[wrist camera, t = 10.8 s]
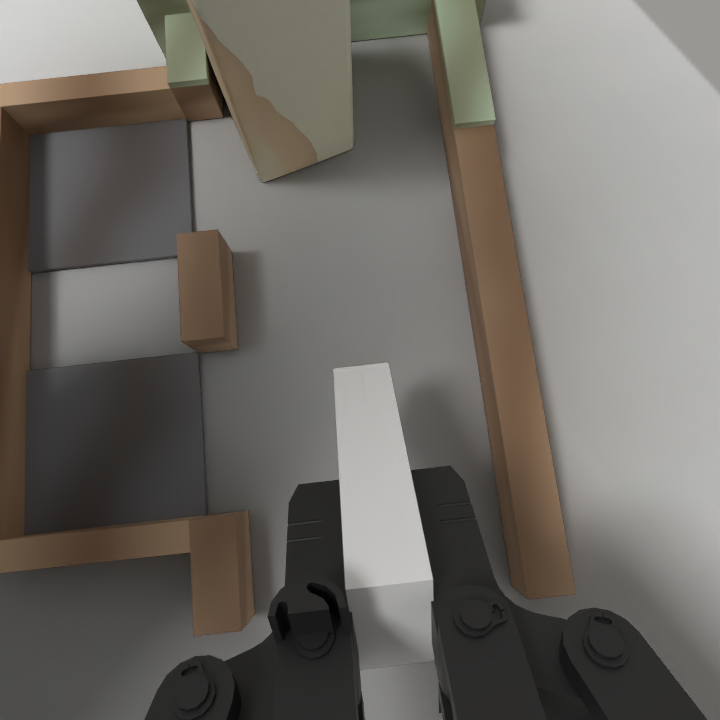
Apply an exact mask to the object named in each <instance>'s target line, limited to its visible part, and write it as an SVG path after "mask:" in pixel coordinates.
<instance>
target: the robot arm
mask: <svg viewBox="0 0 720 720" xmlns="http://www.w3.org/2000/svg"><path fill="white" fill-rule="evenodd" d="M333 375H334V393H335V411H336V429H337V447H338V465H339V480H334V481H325V482H316V483H307V484H299V485H298V487H297V488H296V490H295V492H294V494H293V496H292V498H291V500H290V502H289V510H288V531H287V553H286V575H285V587H283V588H282V589H281V590H280V591H279V592H278V594H277V595H276V596H275V598H274V599H273V601H272V602H271V606H270V609H269V613H268V619H269V622H270V625H271V629H272V633H271V634H270V635H269V636H268V637H267V638H266V639H265V640H264V641H263V642H262V643H260V644H258V645H257V646H255V647H254V648H252V649H250V650H248V651H246V652H244V653H241V654H239V655H237V656H235V657H233V658H231V659H229V660H226V661H223V660H221V659H218V658H216V657H213V656H210V655H207V656H195V657H193V658H191V659H188V660H186V661H184V662H182V663H180V664H179V665H178V666H177V667H176V668H174V669H173V670H172V671H171V672H170V673H169V674H168V675H167V676H166V678H165V679H164V681H163V682H162V684H161V686H160V687H159V689H158V690H157V693H156V695H155V697H154V699H153V702H152V704H151V706H150V708H149V711H148V713H147V715H146V718H145V720H365V716H364V703H363V698H362V692H361V679H360V670H365V669H373V668H381V667H390V666H398V665H407V664H415V663H423V662H432V661H434V658H435V664H436V669H437V674H438V680H439V713H442V715H443V720H707V719H706V717H705V716H704V715H703V714H702V712H701V711H700V710H699V708H698V707H697V706H696V705H695V703H694V702H693V701H692V699H691V698H690V697H689V696H688V694H687V693H686V692H685V690H684V689H683V688H682V687H681V685H680V684H679V683H678V681H677V680H676V679H675V678H674V676H673V675H672V674H671V673H670V671H669V670H668V669H667V667H666V666H665V665H664V664H663V662H662V661H661V660H660V658H659V657H658V656H657V655H656V653H655V652H654V651H653V649H652V648H651V647H650V646H649V644H648V643H647V642H646V640H645V639H644V638H643V637H642V635H641V634H640V633H639V632H638V631H637V630H636V629H635V628H634V627H633V626H632V625H631V624H630V623H629V622H628V621H627V620H626V619H624V618H622V617H621V616H619V615H617V614H615V613H613V612H611V611H608V610H603V609H598V608H589V609H583V610H579V611H578V612H576V613H575V614H573V615H572V616H570V617H569V618H568V620H566V619H561V618H556V617H551V616H546V615H541V614H537V613H533V612H530V611H527V610H525V609H523V608H521V607H519V606H517V605H516V604H514V603H513V602H512V601H511V600H509V599H508V598H507V597H506V596H505V595H504V594H503V592H502V591H501V590H500V589H499V587H498V585H497V583H496V581H495V578H494V576H493V572H492V569H491V566H490V563H489V560H488V556H487V553H486V550H485V547H484V544H483V540H482V537H481V534H480V531H479V528H478V524H477V521H476V520H475V515H474V512H473V508H472V505H471V504H470V499H469V495H468V492H467V489H466V486H465V483H464V481H463V480H462V479H461V477H460V476H459V475H458V474H457V473H456V472H455V471H454V470H453V469H452V467H451V466H444V467H436V468H427V469H418V470H410V465H409V461H408V456H407V451H406V446H405V441H404V436H403V432H402V427H401V422H400V417H399V412H398V407H397V402H396V398H395V393H394V388H393V383H392V378H391V373H390V369H389V364H388V362H387V363H378V364H369V365H360V366H351V367H342V368H334V369H333Z"/></svg>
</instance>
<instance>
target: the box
mask: <svg viewBox="0 0 720 720" xmlns="http://www.w3.org/2000/svg"><path fill="white" fill-rule="evenodd" d="M186 1H187V3H188V6H189V8H190V11H191V13H192V16H193V18H194V21H195V23H196V26H197V28H198V31H199V34H200V36H201V39H202V41H203V44H204V46H205V49H206V52H207V54H208V57H209V60H210V62H211V65H212V67H213V70H214V73H215V75H216V78H217V80H218V83H219V86H220V88H221V91H222V93H223V95H224V98H225V100H226V103H227V105H228V108H229V110H230V113H231V115H232V117H233V120H234V122H235V125H236V127H237V129H238V132H239V134H240V136H241V139H242V141H243V144H244V146H245V148H246V150H247V153H248V155H249V157H250V160H251V162H252V164H253V166H254V169H255V171H256V173H257V175H258V178H259V180H260V181H261V182H267V181H269V180H272V179H275V178H278V177H281V176H283V175H286V174H289V173H292V172H294V171H297V170H300V169H302V168H305V167H307V166H310V165H313V164H315V163H318V162H320V161H323V160H325V159H328V158H330V157H333V156H335V155H338V154H340V153H343V152H345V151H348V150H350V149H352V148H353V146H354V126H353V88H352V54H351V21H350V0H186Z"/></svg>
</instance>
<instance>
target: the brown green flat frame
mask: <svg viewBox="0 0 720 720" xmlns="http://www.w3.org/2000/svg"><path fill="white" fill-rule="evenodd" d="M137 2H138V4H139V6H140V8H141V10H142V12H143V14H144V16H145V18H146V20H147V22H148V24H149V26H150V28H151V30H152V32H153V34H154V36H155V38H156V40H157V42H158V44H159V46H160V48H161V50H162V52H163V54H164V56H165V58H166V62H167V66H162V67H153V68H143V69H134V70H125V71H116V72H106V73H97V74H88V75H78V76H69V77H60V78H50V79H41V80H32V81H22V82H13V83H4V84H0V573H6V572H16V571H25V570H34V569H43V568H52V567H61V566H71V565H80V564H89V563H98V562H107V561H116V560H125V559H135V558H144V557H153V556H162V555H171V554H180V553H190V563H191V587H192V610H193V634H194V636H200V635H209V634H218V633H227V632H236V631H242V630H243V628H244V627H245V626H246V625H247V623H248V622H249V621H250V619H251V618H252V617H253V616H254V614H255V608H254V592H253V576H252V561H251V545H250V529H249V514H248V511H239V512H229V513H220V514H211V515H207V506H206V485H205V465H204V445H203V424H202V404H201V384H200V363H199V353H206V352H216V351H225V350H234V349H238V341H237V326H236V310H235V294H234V279H233V263H232V251H231V249H230V248H229V246H228V245H227V243H226V242H225V240H224V238H223V237H222V235H221V234H220V232H219V231H218V230H209V231H200V232H193V221H192V200H191V180H190V160H189V139H188V121H195V120H204V119H213V118H223V106H222V91H221V88H220V86H219V83H218V80H217V78H216V75H215V73H214V70H213V67H212V65H211V62H210V60H209V57H208V54H207V52H206V49H205V46H204V44H203V41H202V39H201V36H200V34H199V31H198V28H197V26H196V23H195V21H194V18H193V16H192V13H191V11H190V8H189V6H188V3H187V1H186V0H137ZM485 2H486V0H350V21H351V41H360V40H369V39H378V38H387V37H397V36H406V35H415V34H425V33H427V35H428V41H429V48H430V54H431V61H432V67H433V74H434V80H435V87H436V93H437V100H438V107H439V113H440V120H441V126H442V133H443V139H444V146H445V152H446V159H447V166H448V172H449V179H450V185H451V192H452V198H453V205H454V211H455V218H456V225H457V231H458V238H459V244H460V251H461V257H462V264H463V270H464V277H465V283H466V290H467V297H468V303H469V310H470V316H471V323H472V329H473V336H474V342H475V349H476V356H477V362H478V369H479V375H480V382H481V388H482V395H483V401H484V408H485V414H486V421H487V428H488V434H489V441H490V447H491V454H492V460H493V467H494V473H495V480H496V487H497V493H498V500H499V506H500V513H501V519H502V526H503V532H504V539H505V545H506V552H507V559H508V565H509V572H510V578H511V585H512V586H513V587H514V588H515V589H516V590H517V591H518V592H520V593H521V594H522V595H523V596H524V597H526V598H527V599H537V598H547V597H556V596H565V595H574V594H576V593H575V587H574V581H573V576H572V570H571V564H570V558H569V553H568V547H567V541H566V535H565V530H564V524H563V518H562V512H561V507H560V501H559V495H558V489H557V484H556V478H555V472H554V466H553V461H552V455H551V449H550V444H549V438H548V432H547V426H546V421H545V415H544V409H543V403H542V398H541V392H540V386H539V380H538V375H537V369H536V363H535V357H534V352H533V346H532V340H531V334H530V329H529V323H528V317H527V311H526V306H525V300H524V294H523V288H522V283H521V277H520V271H519V266H518V260H517V254H516V248H515V243H514V237H513V231H512V225H511V220H510V214H509V208H508V202H507V197H506V191H505V185H504V179H503V174H502V168H501V162H500V156H499V151H498V145H497V139H496V133H495V128H494V123H495V120H496V118H495V112H494V106H493V101H492V95H491V89H490V84H489V78H488V72H487V67H486V61H485V55H484V49H483V44H482V38H481V32H480V23H481V19H482V15H483V10H484V6H485ZM175 257H177V258H178V282H179V305H180V329H181V342H183V343H184V344H186V345H187V346H189V347H190V348H192V349H193V350H195V351H196V352H195V353H186V354H176V355H167V356H158V357H149V358H139V359H130V360H121V361H112V362H103V363H93V364H84V365H75V366H66V367H57V368H47V369H38V370H30V333H31V273H36V272H45V271H55V270H64V269H73V268H82V267H92V266H101V265H110V264H119V263H129V262H138V261H147V260H156V259H166V258H175Z"/></svg>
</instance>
